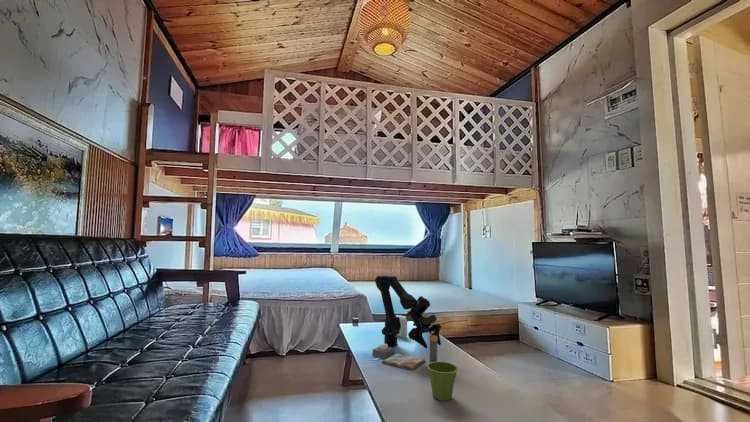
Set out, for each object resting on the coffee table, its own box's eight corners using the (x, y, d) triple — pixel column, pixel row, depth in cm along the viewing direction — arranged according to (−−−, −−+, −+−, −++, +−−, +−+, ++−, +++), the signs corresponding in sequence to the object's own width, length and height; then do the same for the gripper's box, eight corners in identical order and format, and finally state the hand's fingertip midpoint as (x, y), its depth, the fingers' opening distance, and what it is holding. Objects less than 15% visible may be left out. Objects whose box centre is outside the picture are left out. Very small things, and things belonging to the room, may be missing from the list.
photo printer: (391, 334, 225) (391, 314, 226) (396, 333, 228) (396, 313, 229) (403, 338, 217) (403, 317, 218) (408, 337, 220) (408, 316, 221)
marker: (428, 363, 176) (428, 336, 177) (431, 360, 179) (431, 334, 180) (435, 364, 174) (435, 337, 175) (438, 362, 177) (438, 336, 178)
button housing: (372, 355, 186) (372, 349, 186) (380, 351, 193) (380, 345, 193) (386, 358, 182) (386, 352, 182) (393, 354, 188) (394, 348, 188)
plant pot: (438, 406, 131) (438, 374, 132) (421, 393, 142) (421, 363, 143) (464, 400, 136) (464, 369, 137) (446, 388, 147) (446, 359, 148)
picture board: (382, 363, 175) (382, 360, 175) (396, 355, 186) (396, 352, 186) (412, 370, 166) (412, 367, 166) (425, 361, 178) (425, 358, 178)
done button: (377, 351, 186) (377, 345, 187) (381, 348, 190) (382, 343, 190) (384, 352, 184) (384, 346, 184) (389, 350, 188) (389, 344, 188)
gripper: (412, 311, 177) (428, 340, 167) (438, 307, 188) (455, 334, 178) (401, 324, 183) (416, 353, 173) (428, 320, 194) (443, 346, 184)
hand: (433, 346), depth 177 cm, fingers open, 9 cm apart
